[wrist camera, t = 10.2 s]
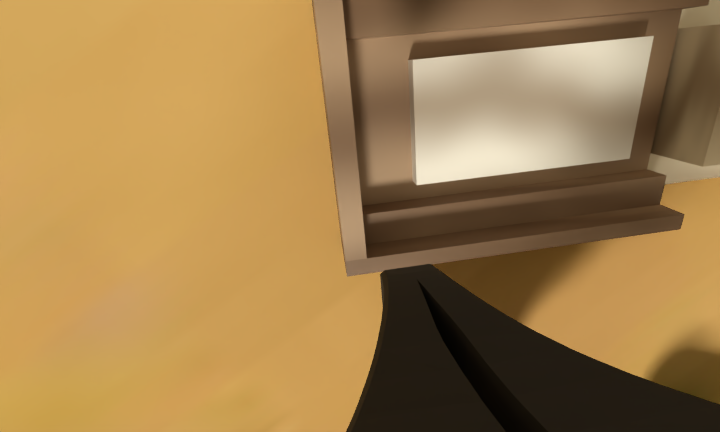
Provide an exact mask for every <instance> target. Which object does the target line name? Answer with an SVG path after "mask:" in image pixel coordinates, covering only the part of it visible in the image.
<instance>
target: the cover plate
mask: <svg viewBox="0 0 720 432" xmlns="http://www.w3.org/2000/svg"><path fill="white" fill-rule="evenodd" d="M647 169H648V170H651V171H654V172H658V173H661V174H664V175H667V176H666V181H665V184H672V183H679V182H687V181H694V180H702V179H709V178H717V177H720V0H709V4H708V5H707V6H700V7H694V8H687V9H682V13H681V17H680V22H679V26H678V31H677V35H676V40H675V44H674V49H673V54H672V58H671V63H670V67H669V72H668V76H667V81H666V85H665V90H664V94H663V99H662V104H661V108H660V113H659V117H658V122H657V126H656V131H655V135H654V140H653V144H652V149H651V154H650V158H649V163H648V167H647Z"/></svg>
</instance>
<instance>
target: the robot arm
mask: <svg viewBox="0 0 720 432" xmlns="http://www.w3.org/2000/svg"><path fill="white" fill-rule="evenodd" d="M380 277H381V290H382V302H383V312H382V321H381V326H380V331H379V336H378V341H377V346H376V350H375V354H374V358H373V361H372V365H371V368H370V371H369V374H368V377H367V380H366V383H365V386H364V389H363V391H362V394H361V397H360V400H359V402H358V405H357V408H356V410H355V413H354V415H353V417H352V420H351V422H350V424H349V426H348V429H347V431H346V432H720V405H719V404H716V403H713V402H710V401H707V400H704V399H701V398H698V397H695V396H692V395H689V394H686V393H683V392H680V391H677V390H674V389H671V388H668V387H665V386H662V385H660V384H657V383H654V382H651V381H649V380H646V379H643V378H641V377H638V376H635V375H632V374H630V373H627V372H625V371H622V370H620V369H617V368H615V367H612V366H610V365H608V364H605V363H603V362H600V361H598V360H595V359H593V358H591V357H588V356H586V355H584V354H581V353H579V352H577V351H575V350H572V349H570V348H568V347H566V346H564V345H562V344H560V343H558V342H556V341H554V340H552V339H550V338H548V337H546V336H544V335H542V334H540V333H538V332H536V331H534V330H532V329H530V328H528V327H526V326H524V325H523V324H521V323H519V322H517V321H516V320H514V319H512V318H511V317H509V316H507V315H505V314H504V313H502V312H500V311H499V310H497V309H495V308H494V307H492V306H491V305H489V304H487V303H486V302H484V301H483V300H481V299H480V298H478V297H477V296H475V295H474V294H472V293H471V292H469V291H468V290H466V289H465V288H463V287H462V286H461V285H459V284H458V283H456V282H455V281H453V280H452V279H451V278H449V277H448V276H446V275H445V274H444V273H442V272H441V271H439V270H438V269H437V268H435V267H434V266H432V265H431V264H425V265H417V266H410V267H403V268H396V269H389V270H384V271H383V272H382V273H381V274H380Z"/></svg>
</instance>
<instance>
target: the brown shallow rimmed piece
mask: <svg viewBox="0 0 720 432" xmlns="http://www.w3.org/2000/svg"><path fill="white" fill-rule="evenodd" d="M708 4H709V0H312V5H313V13H314V21H315V29H316V37H317V45H318V54H319V62H320V70H321V78H322V86H323V94H324V102H325V110H326V118H327V127H328V135H329V143H330V151H331V159H332V167H333V175H334V183H335V191H336V200H337V208H338V216H339V224H340V232H341V240H342V248H343V254H344V260H345V266H346V272H347V276H353V275H361V274H368V273H375V272H382V271H384V270H389V269H396V268H403V267H410V266H417V265H425V264H438V263H445V262H452V261H459V260H466V259H473V258H480V257H487V256H494V255H502V254H509V253H516V252H523V251H530V250H537V249H544V248H551V247H558V246H565V245H572V244H579V243H586V242H593V241H600V240H607V239H614V238H621V237H628V236H635V235H642V234H650V233H657V232H664V231H671V230H678V229H681V225H682V222H683V218H684V214H682V213H680V212H677V211H675V210H672V209H670V208H667V207H665V206H662V205H660V201H661V197H662V193H663V189H664V185H665V181H666V176H667V175H664V174H661V173H658V172H654V171H651V170H648V169H647V167H648V163H649V158H650V154H651V149H652V144H653V140H654V135H655V131H656V126H657V122H658V117H659V113H660V108H661V104H662V99H663V94H664V90H665V85H666V81H667V76H668V72H669V67H670V63H671V58H672V54H673V49H674V44H675V40H676V35H677V31H678V26H679V22H680V17H681V13H682V9H687V8H694V7H700V6H707V5H708Z"/></svg>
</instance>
